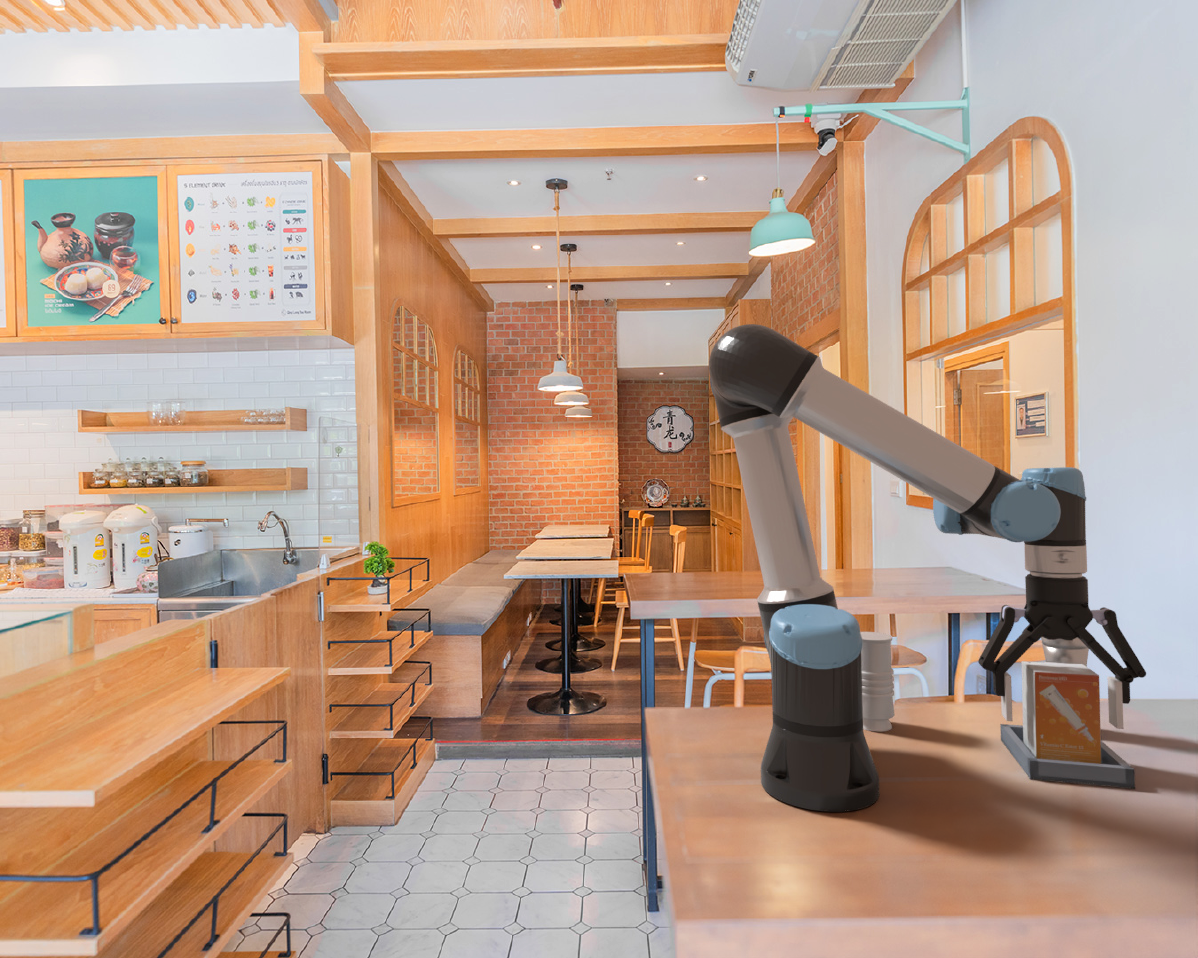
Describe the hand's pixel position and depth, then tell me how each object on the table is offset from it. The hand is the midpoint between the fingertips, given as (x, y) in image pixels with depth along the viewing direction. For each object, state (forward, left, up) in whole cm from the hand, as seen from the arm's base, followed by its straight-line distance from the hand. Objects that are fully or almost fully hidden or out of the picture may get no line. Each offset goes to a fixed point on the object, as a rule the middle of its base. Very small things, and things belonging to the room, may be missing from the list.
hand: (1060, 722), depth 98 cm
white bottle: (-24, +10, -6) cm, 27 cm away
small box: (0, 0, -5) cm, 5 cm away
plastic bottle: (+6, +15, -6) cm, 17 cm away
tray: (0, 0, -6) cm, 6 cm away
